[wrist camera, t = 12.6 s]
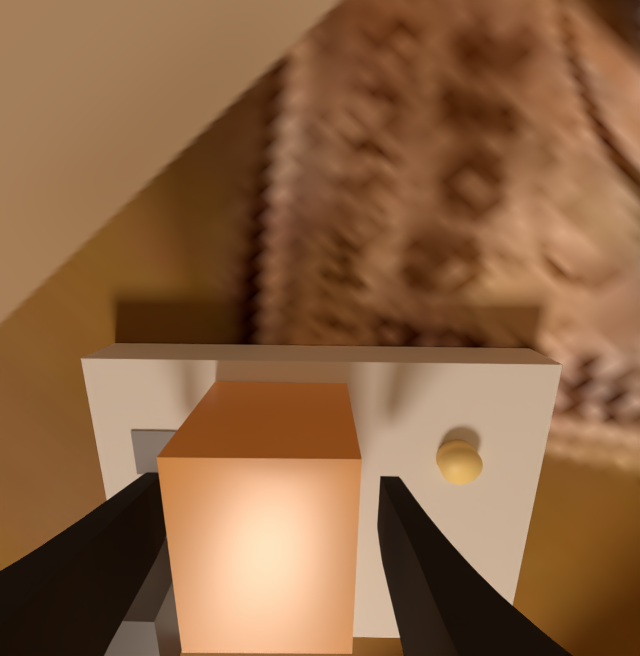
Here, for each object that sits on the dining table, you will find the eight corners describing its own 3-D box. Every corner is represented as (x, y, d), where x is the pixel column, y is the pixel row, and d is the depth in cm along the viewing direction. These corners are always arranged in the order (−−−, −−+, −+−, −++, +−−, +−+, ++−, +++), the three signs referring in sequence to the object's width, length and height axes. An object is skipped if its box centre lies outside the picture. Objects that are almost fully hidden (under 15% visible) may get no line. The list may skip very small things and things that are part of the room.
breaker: (155, 600, 15) (111, 693, 12) (146, 537, 14) (95, 620, 11) (198, 601, 15) (165, 695, 12) (191, 538, 14) (154, 622, 11)
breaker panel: (152, 589, 17) (123, 647, 15) (114, 342, 14) (68, 364, 11) (485, 595, 17) (512, 655, 15) (529, 348, 14) (574, 371, 11)
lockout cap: (225, 524, 14) (182, 652, 9) (214, 381, 12) (156, 457, 8) (341, 525, 14) (352, 653, 9) (346, 383, 12) (361, 459, 8)
